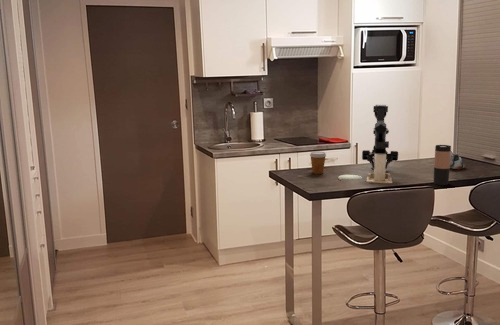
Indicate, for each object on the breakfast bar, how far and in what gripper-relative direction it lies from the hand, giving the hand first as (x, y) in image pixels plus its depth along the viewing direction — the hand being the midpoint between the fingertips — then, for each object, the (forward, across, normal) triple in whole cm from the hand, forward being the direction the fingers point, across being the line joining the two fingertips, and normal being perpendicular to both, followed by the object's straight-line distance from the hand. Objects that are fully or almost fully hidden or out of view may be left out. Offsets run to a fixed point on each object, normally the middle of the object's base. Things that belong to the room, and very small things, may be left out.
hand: (379, 168), depth 251 cm
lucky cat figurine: (-28, +43, +39) cm, 65 cm away
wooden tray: (+4, 0, +6) cm, 8 cm away
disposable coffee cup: (-8, -35, +19) cm, 40 cm away
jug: (+4, 0, +5) cm, 7 cm away
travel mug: (+3, +31, +8) cm, 32 cm away
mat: (+2, -15, +9) cm, 18 cm away
